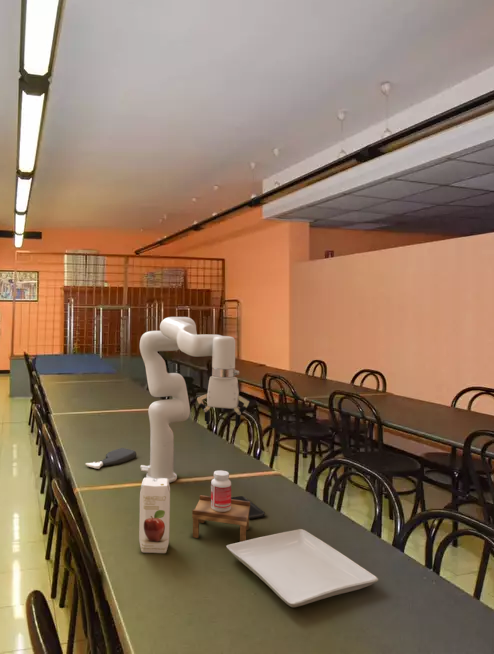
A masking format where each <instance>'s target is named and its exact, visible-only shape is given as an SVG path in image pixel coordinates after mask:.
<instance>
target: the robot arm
mask: <svg viewBox="0 0 494 654" xmlns="http://www.w3.org/2000/svg"><path fill="white" fill-rule="evenodd" d="M196 324H197V323H196V322H195V320H194V319H192V318H191V317H189V316H168V317H165V318H164V319H162V320H161V322H160V324H159V330H149V331H146V332H144V333H143V334H142V335H141V336H140V340H139V352H140V355H141V358H142V361H143V364H144V366H145V367H144V368H145V374H146V380H147V388H148V392H149V394H150V395H151V397H153V398H165V397H172V398H168V399H159V400H155V401H153V402H152V403H151V404H150V405H149V406H148V410H147V411H148V413H147V414H148V419H149V429H150V430H149V432H150V434H149V436H150V445H149V447H150V448H149V459H150V460H149V464H148V465H145V464H141V465H140V467H139V469H140V471H141V472H143V473H145V478H153V479H159V478H167V479H168V480H169V484H170V483H174V482H175V481H176V480H177V479H178V474H177V473H176V472H175V471H174V460H175V459H174V456H175V455H174V453H175V451H174V450H175V434H174V432H173V430H172V428H171V426H170V424H175V423H183V422H185V421H187V420H188V419H189V418H190V415H191V406H190V401H189V396H188V389H187V384H186V380H185V378H184V376H183V375H182V374H180V373H178V372H168V370H167V365H166V361H165V360H164V358H163V357H162V355H161V354H160V353H158V352H175V351H181V352H182V353H184V354H186V355H187V356H190V357H197V358H198V357H212V358H211V376H209V380H208V386H207V393H205V394H203V395H200V396H198V397H197V398H196V401H197V403H198V405H199V408H201V410H203V412H204V422H205V424H206V425H209V424H210V423H211V411H210V409H211V408H216V409H233V410H234V412H235V422H234V423H235V427H236V428H238V427H239V425H241V415H242V414H243V413H244V412H245V411H246V410H247V408H248V406H249V404H250V400H248V399H246V398H244V397H243V396H241V395H240V394H239V393H240V392H239V391H240V390H239V380H238V377H236V376H237V375H238V376H239V375H240V370H237V369H236V338H235V337H233V336H229V335H221V334H215V333H214V334H213V333H212V334H209V333H208V334H205V333H203V334H198V333H197V325H196ZM205 399H206V403H207V405H206V404H205V403H204V402H203V400H205ZM240 402H241V403H243V405H242V406H241V407H239V403H240Z"/></svg>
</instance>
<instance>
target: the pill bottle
mask: <svg viewBox="0 0 494 654" xmlns="http://www.w3.org/2000/svg"><path fill="white" fill-rule="evenodd" d="M229 478H230V473H229V471H226V470H222V469H220V470H218V469H217V470H215V471H213V478H212V479H211V481H210V482H211V483H210V496H211V508H212V509H213V510H215V511H217V512H227V511H229V510H230V509H231V497H232V481H231V480H230V479H229Z"/></svg>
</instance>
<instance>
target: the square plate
mask: <svg viewBox="0 0 494 654" xmlns="http://www.w3.org/2000/svg"><path fill="white" fill-rule="evenodd" d="M225 546H226V549H227V550H228V551H229V552H230V553H231V554H232V555H233V557H235V558H236V559H237V560H238V561H239V562H240V563H241V564H243V565H244V566H245V567H247V569H248V570H249V571H251V572H252V573H253V574H254V575H256V577H258V578H259V579H260V580H261V581H262V582H263V583H264V584H265V585H267V586H268V588H270V589H271V590H272V592H273V593H274V594H276V595H277V597H278V598H280V599H281V600H282V601H283V602H284V603H285V604H286V605H288V606H289V607H291V608H298V607H302V606H305V605H308V604H311V603H315V602H317V601H320V600H325V599H327V598H331V597H334V596H338V595H342V594H346V593H350V592H354V591H358V590H361V589H364V588H366V587H370V586H371V585H374V584H375V583H377V582H379V578H378V577H377V575H375V574H373V573H371V572H370V571H368V570H367V569H365V568H364V567H363V566H361V565H359V564H358V563H357V562H355V561H353V560H352V559H351V558H349V557H348V556H346V555H344V554H343V553H341V551H339V550H337V549H335V548H334V547H332V546H331V545H330V544H328V543H326V542H325V541H324V540H321V539H320V538H319V537H316V536H315V535H313V534H312V533H310V532H308V531H307V530H305V529H302V528H298V529H294V530H288V531H283V532H278V533H274V534H269V535H265V536H264V535H263V536H260V537H254V538H251V539H246V541H242V542H240V541H239V542H235V543H230V544H227V545H225Z"/></svg>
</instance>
